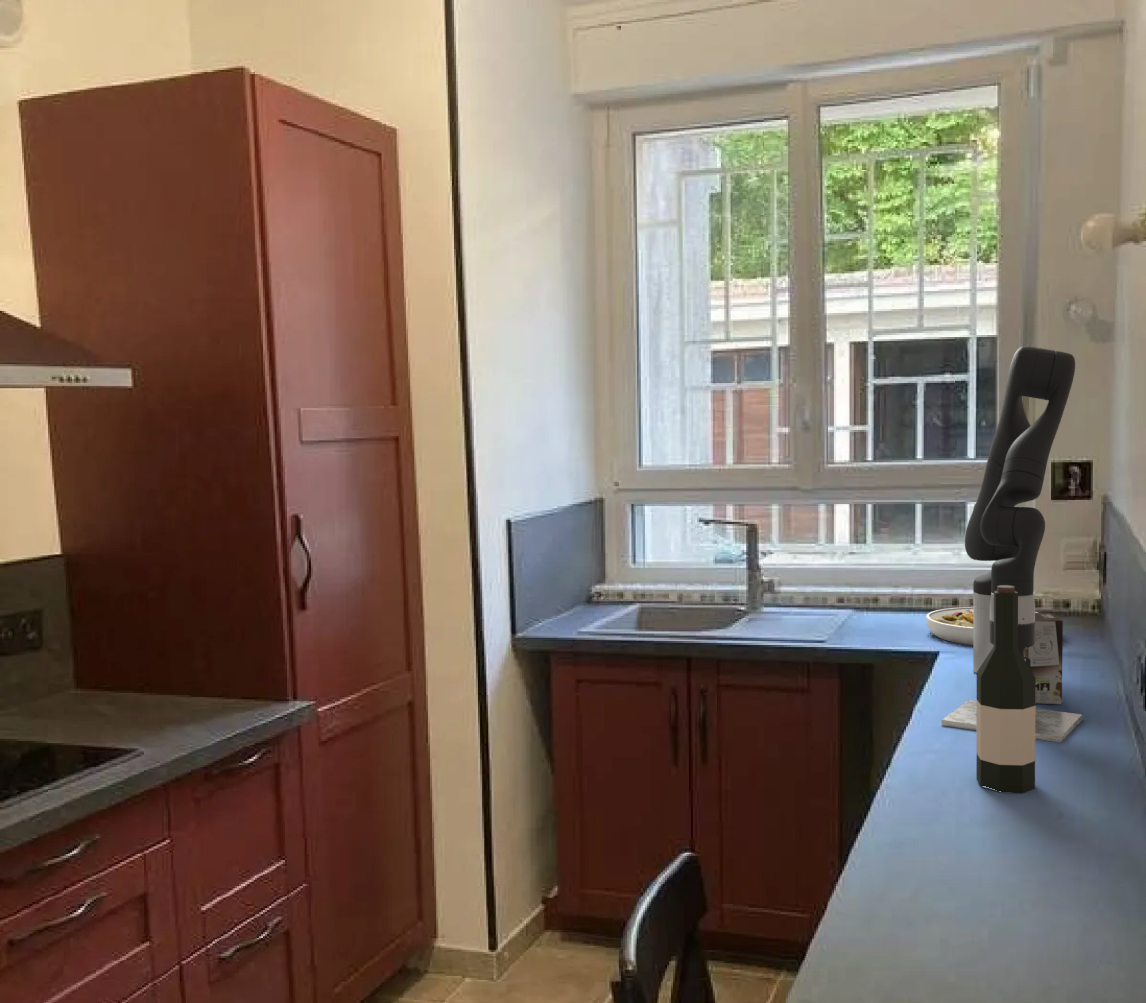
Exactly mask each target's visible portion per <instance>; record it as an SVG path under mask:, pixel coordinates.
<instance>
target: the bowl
mask: <svg viewBox="0 0 1146 1003" xmlns="http://www.w3.org/2000/svg"><path fill="white" fill-rule="evenodd" d="M1035 613H1039V612H1038V611H1035ZM925 617H926V618H925V620H926V625H927V628H928V629H929V631H930V632H931V633H932V634H933V635H934V636H936V637H938V638H940V639H942V640H944V641H949V642H950V643H951V642H952V643H957V644H961V645H968V646H973V606H971V607H969V606H965V607H952V608H951V607H950V608H941V609H937V610H933V611H930V612H928V613H927V614H926V616H925Z"/></svg>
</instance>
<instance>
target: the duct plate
mask: <svg viewBox="0 0 1146 1003" xmlns="http://www.w3.org/2000/svg"><path fill="white" fill-rule="evenodd" d="M1082 721H1083V714H1081V713H1074V712H1073V713H1072V712H1065V711H1057V710H1050V709H1044V708H1043V709H1041V708H1035V740H1040V741H1041V740H1042V741H1048V742H1055V743H1062V742H1063V741H1064V740H1065V738H1067V736H1068V735H1069V734H1071V732H1072V731H1073V730H1074V729H1075V728H1076V727H1077V726H1078V725H1079V724H1080V723H1081V722H1082ZM941 726H944V727H950V728H958V729H965V730H972V731H977V700H970V699H968V700H966V702H964V703H963V704H961V705H960V706H958V707H957V708H956V709H954V710H953V711H952V712H950V713H949V714H947V715H946V716H945V717H943V718H942V719H941Z"/></svg>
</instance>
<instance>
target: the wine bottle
mask: <svg viewBox="0 0 1146 1003" xmlns="http://www.w3.org/2000/svg"><path fill="white" fill-rule="evenodd" d="M1035 682H1036V678H1035V676H1034V675H1033V673H1032V671H1031V670H1030V668H1029V666H1028V665H1027V663H1026V661H1025V660H1024V658H1023V656H1022V655H1021V653H1020V651H1019V650H1018V592H1016V591H1015V587H1014V586H1009V585H1000V586H997V591H994V647H993V648H992V650H991V651H990V653H989V654H988V656H987V657H986V659H985V660H984V662H983V663H982V665H981V666H980V668H979V669H978V671H977V673H976V701H977V730H976V773H975V774H976V779H977V780H978V782H979V783H978V782H977V783H978V785H979V784H980V785H979V787H980V786H986V787H989V788H992V789H995V790H997V791H1001V792H1012V793H1011V794H1024V793H1027V792H1029V791H1032V790H1035V789H1036V739H1035V709H1036V703H1035ZM977 780H976V781H977Z"/></svg>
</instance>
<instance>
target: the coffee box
mask: <svg viewBox="0 0 1146 1003" xmlns="http://www.w3.org/2000/svg"><path fill="white" fill-rule="evenodd" d="M1063 634H1064V620H1062V619H1061V618H1060V617H1058V616H1057V615H1056V614H1054V613H1053V612H1038V613H1035V644H1034V645H1033V646H1031V647H1026V648H1024V649H1023V652H1024V657H1026V658H1030V661H1031V663H1030V670H1031V671H1032V673H1033V675H1034V676H1035V678H1036V682H1035V704H1040V705H1041V704H1043V705H1044V704H1045V705H1047V704H1048V705H1061V704H1062V703H1063V644H1064V643H1063V640H1064V639H1063V637H1064V636H1063Z"/></svg>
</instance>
